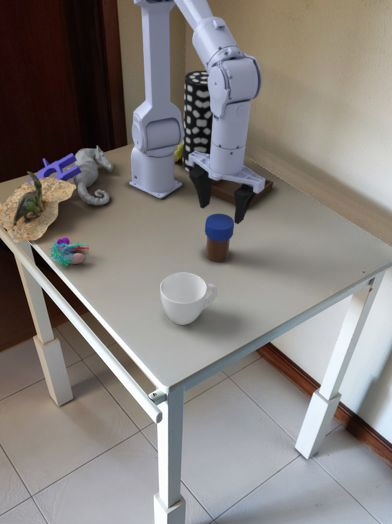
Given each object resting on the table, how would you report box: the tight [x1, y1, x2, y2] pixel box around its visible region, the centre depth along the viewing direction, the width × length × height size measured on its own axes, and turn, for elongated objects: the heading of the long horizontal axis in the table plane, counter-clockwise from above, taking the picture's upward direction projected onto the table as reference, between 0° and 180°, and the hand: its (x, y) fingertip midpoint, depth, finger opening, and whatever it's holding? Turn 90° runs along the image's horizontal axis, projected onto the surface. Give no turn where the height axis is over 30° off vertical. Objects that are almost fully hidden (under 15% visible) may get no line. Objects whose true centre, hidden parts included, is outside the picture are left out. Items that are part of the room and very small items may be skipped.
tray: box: [211, 178, 274, 209], centre depth 114 cm, size 11×11×2 cm
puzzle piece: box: [26, 152, 81, 182], centre depth 108 cm, size 10×12×2 cm
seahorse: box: [64, 145, 114, 206], centre depth 112 cm, size 5×12×20 cm
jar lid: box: [204, 213, 235, 241], centre depth 93 cm, size 5×5×3 cm
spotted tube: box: [182, 69, 213, 173], centre depth 114 cm, size 8×8×20 cm
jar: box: [205, 236, 231, 263], centre depth 95 cm, size 4×4×7 cm
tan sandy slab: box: [0, 171, 77, 243], centre depth 100 cm, size 18×14×8 cm
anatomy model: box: [49, 237, 90, 267], centre depth 93 cm, size 5×8×7 cm
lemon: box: [174, 140, 183, 163], centre depth 122 cm, size 4×8×4 cm
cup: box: [159, 271, 218, 326], centre depth 84 cm, size 8×10×7 cm
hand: (221, 213), depth 91 cm, fingers open, 7 cm apart
